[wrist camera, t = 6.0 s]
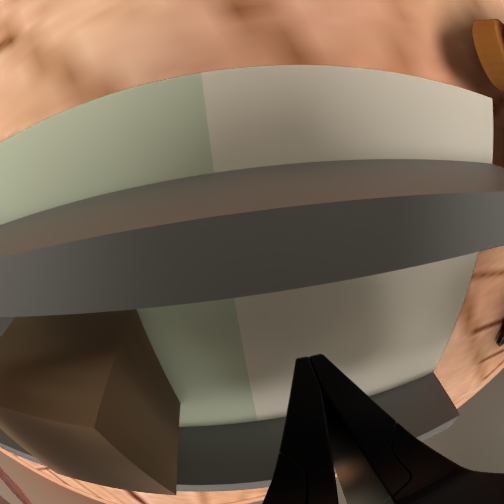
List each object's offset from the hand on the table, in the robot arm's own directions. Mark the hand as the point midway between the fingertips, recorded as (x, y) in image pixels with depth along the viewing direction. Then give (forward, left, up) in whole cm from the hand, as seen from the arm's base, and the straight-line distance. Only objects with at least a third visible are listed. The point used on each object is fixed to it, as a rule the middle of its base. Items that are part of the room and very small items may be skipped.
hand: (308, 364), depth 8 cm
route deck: (+5, 0, -3) cm, 6 cm away
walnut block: (+7, 0, -1) cm, 7 cm away
